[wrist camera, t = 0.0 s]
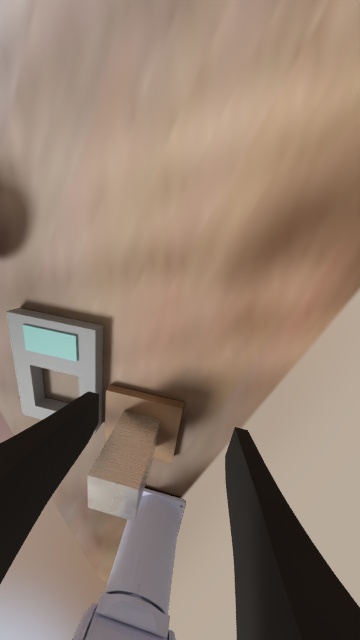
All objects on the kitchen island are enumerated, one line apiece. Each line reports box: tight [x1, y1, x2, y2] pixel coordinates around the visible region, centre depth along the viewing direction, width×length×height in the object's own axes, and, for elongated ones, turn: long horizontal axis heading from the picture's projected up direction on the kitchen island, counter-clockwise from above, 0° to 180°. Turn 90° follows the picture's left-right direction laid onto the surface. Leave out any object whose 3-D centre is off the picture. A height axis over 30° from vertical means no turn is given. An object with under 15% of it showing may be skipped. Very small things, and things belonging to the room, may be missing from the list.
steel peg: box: [87, 411, 160, 522], centre depth 19 cm, size 4×4×7 cm
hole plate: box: [6, 308, 103, 433], centre depth 22 cm, size 14×10×2 cm
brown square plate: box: [105, 385, 184, 464], centre depth 23 cm, size 9×9×1 cm
